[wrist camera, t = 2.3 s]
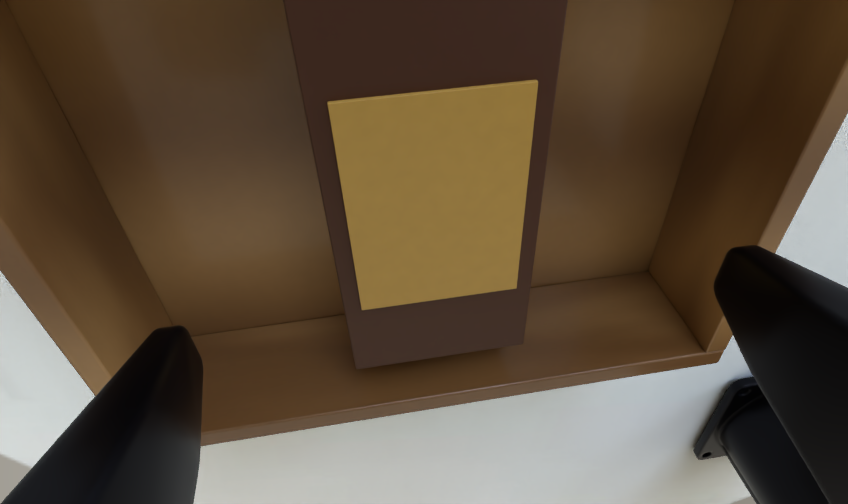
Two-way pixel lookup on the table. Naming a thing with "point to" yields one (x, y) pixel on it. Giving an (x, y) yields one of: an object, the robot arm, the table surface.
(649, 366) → the wooden box
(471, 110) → the chocolate bar
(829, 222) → the table surface
